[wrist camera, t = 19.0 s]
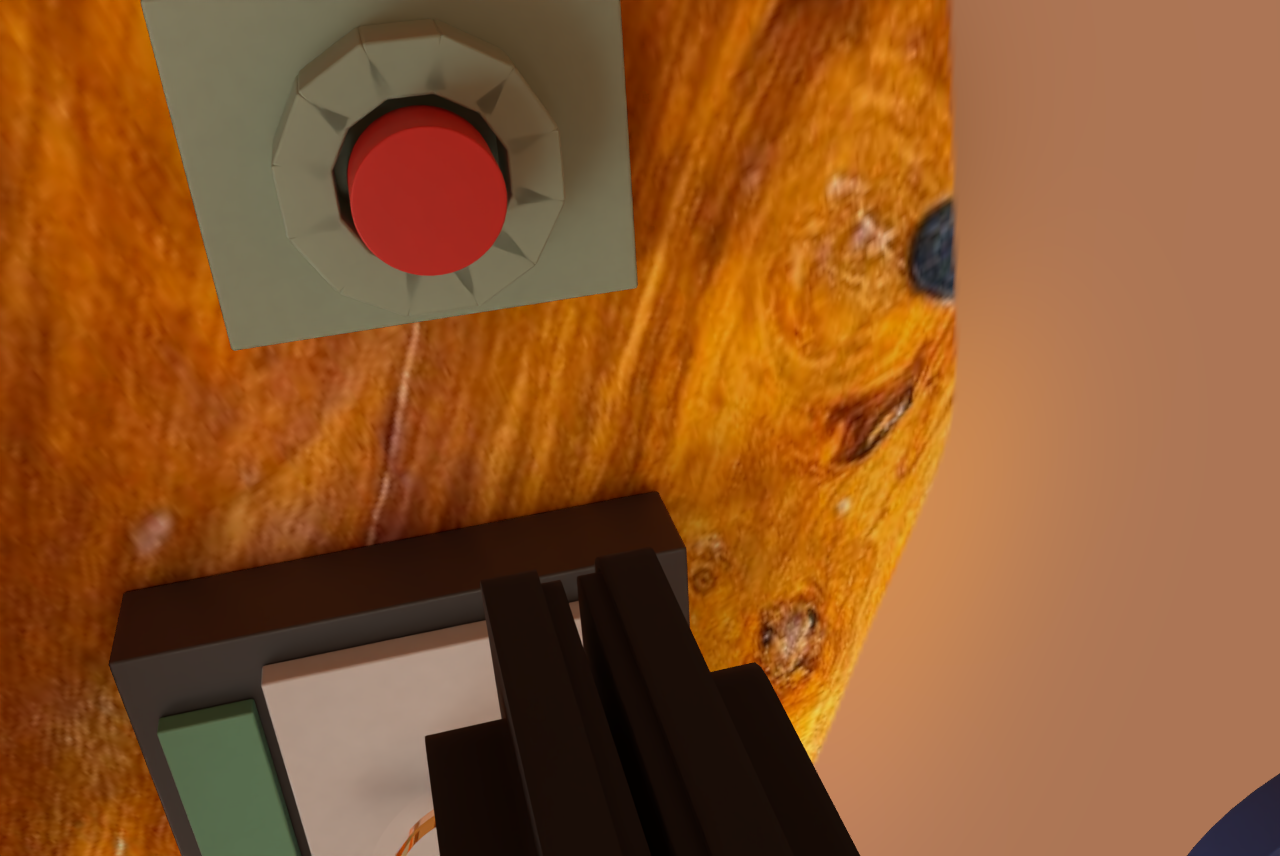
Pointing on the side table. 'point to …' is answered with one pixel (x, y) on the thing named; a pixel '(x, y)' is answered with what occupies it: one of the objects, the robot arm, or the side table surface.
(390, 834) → the ring
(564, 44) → the grey button housing
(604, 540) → the scale
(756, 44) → the side table surface
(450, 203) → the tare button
